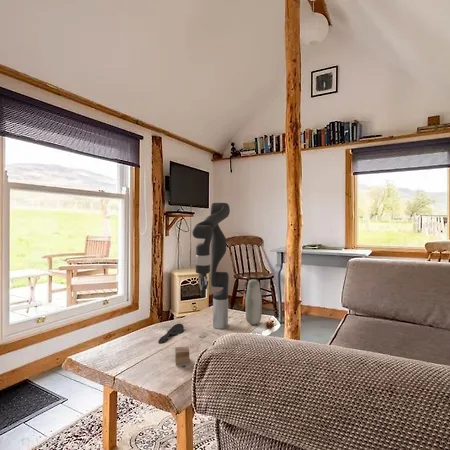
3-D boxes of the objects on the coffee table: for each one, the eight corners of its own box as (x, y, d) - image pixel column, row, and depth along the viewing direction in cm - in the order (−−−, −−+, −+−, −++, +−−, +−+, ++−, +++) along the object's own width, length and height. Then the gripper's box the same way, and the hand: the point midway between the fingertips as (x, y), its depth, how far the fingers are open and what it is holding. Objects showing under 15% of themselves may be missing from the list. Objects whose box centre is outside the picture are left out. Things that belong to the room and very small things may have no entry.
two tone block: (175, 352, 141) (175, 365, 141) (189, 351, 142) (189, 364, 142) (175, 347, 147) (175, 360, 147) (188, 346, 148) (188, 359, 148)
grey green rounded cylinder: (245, 321, 204) (245, 277, 204) (261, 321, 203) (261, 278, 203) (245, 326, 194) (245, 280, 194) (261, 326, 193) (262, 280, 193)
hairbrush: (152, 338, 167) (174, 321, 191) (152, 344, 168) (174, 327, 192) (166, 340, 165) (186, 322, 189) (166, 347, 165) (186, 329, 189)
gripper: (213, 265, 159) (213, 299, 160) (206, 261, 172) (206, 292, 173) (198, 266, 157) (198, 300, 158) (193, 261, 170) (193, 293, 170)
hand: (203, 296), depth 165 cm, fingers closed
